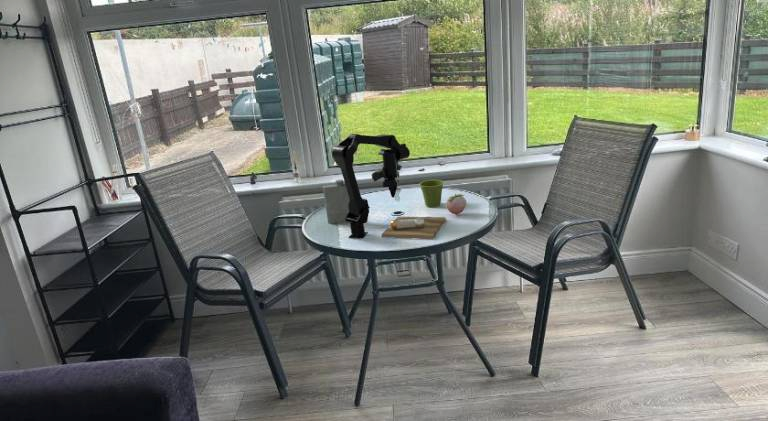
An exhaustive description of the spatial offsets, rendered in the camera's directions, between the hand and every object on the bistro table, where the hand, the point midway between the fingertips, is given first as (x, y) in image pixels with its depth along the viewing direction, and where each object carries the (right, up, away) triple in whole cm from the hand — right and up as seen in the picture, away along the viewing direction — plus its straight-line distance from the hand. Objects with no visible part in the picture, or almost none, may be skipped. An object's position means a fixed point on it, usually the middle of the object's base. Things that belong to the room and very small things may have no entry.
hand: (393, 197), depth 227 cm
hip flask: (-22, -11, +9) cm, 27 cm away
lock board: (+9, -14, -10) cm, 19 cm away
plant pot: (+20, -4, +19) cm, 27 cm away
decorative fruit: (+28, -8, +2) cm, 30 cm away
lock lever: (+6, -13, -12) cm, 19 cm away
